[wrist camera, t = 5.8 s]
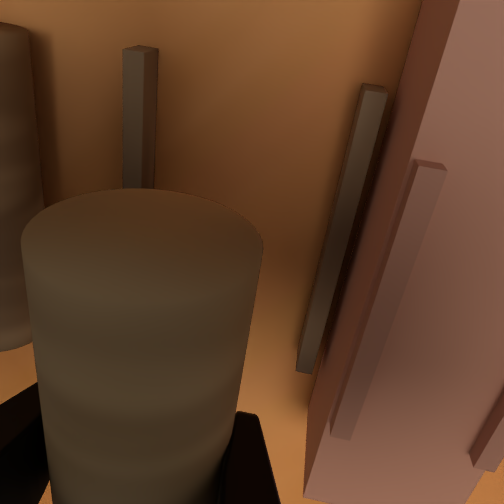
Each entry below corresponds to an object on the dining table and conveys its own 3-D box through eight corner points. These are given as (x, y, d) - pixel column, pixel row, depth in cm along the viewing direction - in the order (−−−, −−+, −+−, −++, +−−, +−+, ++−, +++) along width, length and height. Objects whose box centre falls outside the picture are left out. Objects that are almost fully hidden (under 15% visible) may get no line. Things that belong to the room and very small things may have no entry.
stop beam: (427, 434, 19) (452, 545, 15) (307, 408, 19) (302, 511, 16) (638, -4, 11) (799, -6, 7) (432, -35, 12) (484, -52, 8)
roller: (222, 512, 11) (187, 668, 9) (102, 483, 11) (33, 627, 9) (275, 210, 7) (241, 328, 5) (91, 175, 7) (-41, 268, 5)
